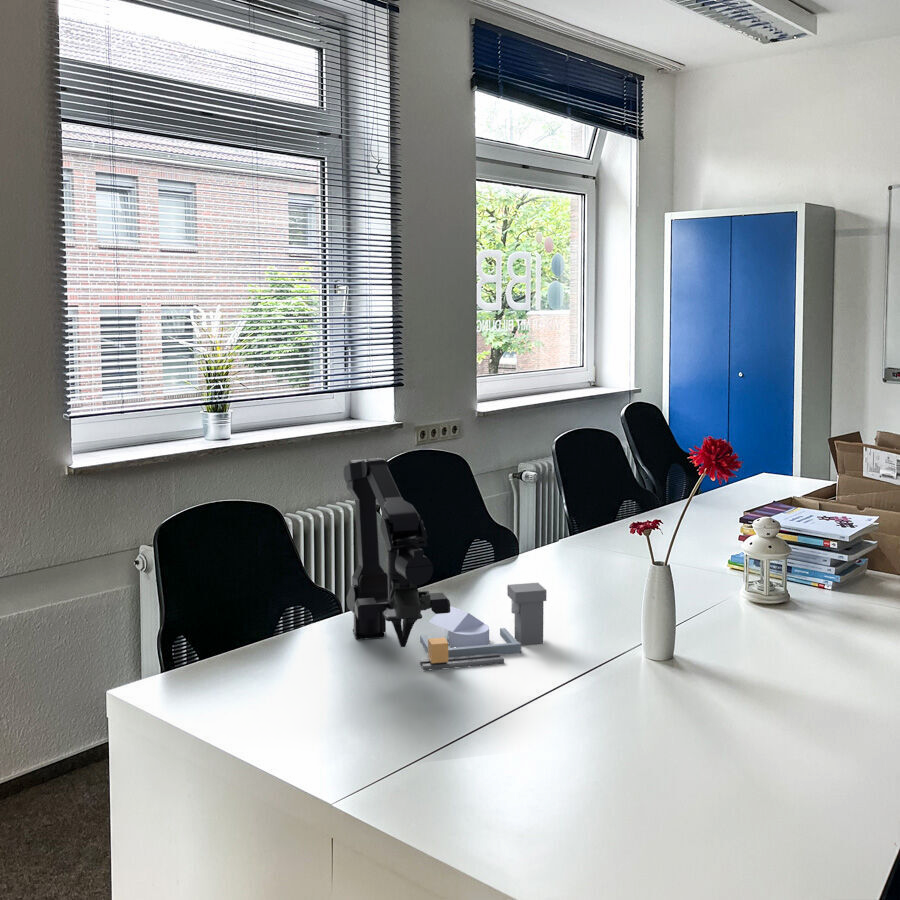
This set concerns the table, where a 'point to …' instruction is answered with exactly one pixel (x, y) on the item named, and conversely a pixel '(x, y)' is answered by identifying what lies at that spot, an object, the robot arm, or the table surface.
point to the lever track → (464, 661)
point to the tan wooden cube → (438, 650)
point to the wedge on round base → (462, 628)
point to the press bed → (526, 623)
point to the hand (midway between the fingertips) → (402, 646)
